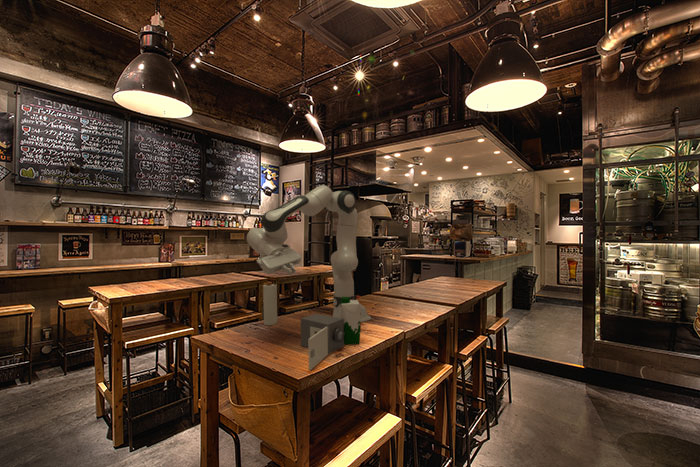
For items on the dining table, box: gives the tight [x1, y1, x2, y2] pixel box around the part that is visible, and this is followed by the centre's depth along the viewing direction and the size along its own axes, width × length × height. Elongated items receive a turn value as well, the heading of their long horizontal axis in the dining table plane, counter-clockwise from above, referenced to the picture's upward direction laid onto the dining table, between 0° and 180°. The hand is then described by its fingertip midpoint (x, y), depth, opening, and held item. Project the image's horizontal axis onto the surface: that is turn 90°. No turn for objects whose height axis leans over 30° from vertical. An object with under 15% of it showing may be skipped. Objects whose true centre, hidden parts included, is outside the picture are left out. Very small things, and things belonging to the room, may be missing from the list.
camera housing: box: [300, 313, 345, 355], centre depth 134 cm, size 18×10×12 cm, turn 52°
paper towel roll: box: [262, 283, 278, 326], centre depth 169 cm, size 7×6×21 cm
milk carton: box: [340, 297, 362, 346], centre depth 140 cm, size 9×9×20 cm
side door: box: [307, 326, 330, 371], centre depth 118 cm, size 16×1×11 cm, turn 160°
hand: (293, 272), depth 135 cm, fingers closed
